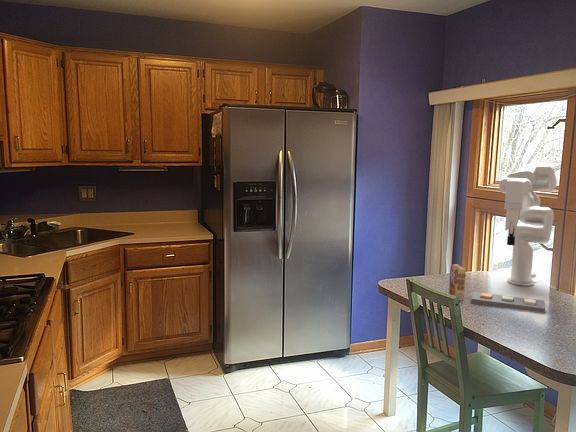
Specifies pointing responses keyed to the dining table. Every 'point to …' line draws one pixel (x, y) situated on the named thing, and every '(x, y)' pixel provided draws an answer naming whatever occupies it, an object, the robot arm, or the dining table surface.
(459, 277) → the candy box
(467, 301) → the dining table surface
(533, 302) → the cream button
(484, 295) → the orange button
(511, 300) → the sage button
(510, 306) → the button panel
